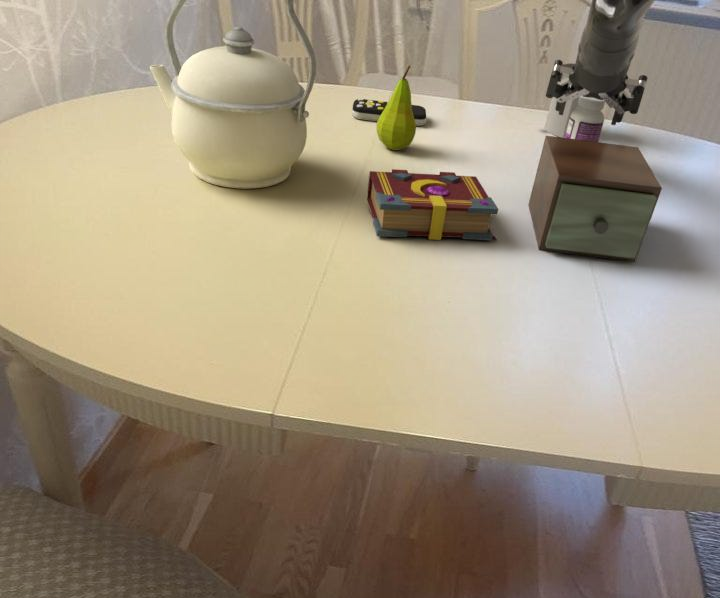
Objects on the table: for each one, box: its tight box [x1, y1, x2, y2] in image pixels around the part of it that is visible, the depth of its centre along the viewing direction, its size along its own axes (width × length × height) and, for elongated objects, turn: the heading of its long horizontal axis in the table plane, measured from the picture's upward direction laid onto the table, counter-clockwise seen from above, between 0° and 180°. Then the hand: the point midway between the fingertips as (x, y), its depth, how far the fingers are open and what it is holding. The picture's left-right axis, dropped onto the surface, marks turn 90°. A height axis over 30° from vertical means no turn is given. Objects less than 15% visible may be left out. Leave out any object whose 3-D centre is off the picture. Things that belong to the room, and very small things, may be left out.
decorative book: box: [366, 169, 499, 241], centre depth 99 cm, size 11×16×5 cm
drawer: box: [545, 182, 657, 259], centre depth 98 cm, size 15×11×8 cm
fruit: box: [376, 65, 417, 151], centre depth 116 cm, size 6×6×12 cm
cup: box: [544, 62, 580, 138], centre depth 132 cm, size 8×8×10 cm
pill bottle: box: [565, 95, 606, 142], centre depth 121 cm, size 5×5×10 cm
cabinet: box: [528, 135, 663, 263], centre depth 99 cm, size 15×13×10 cm
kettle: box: [149, 0, 318, 190], centre depth 99 cm, size 25×18×25 cm
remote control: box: [351, 97, 427, 127], centre depth 131 cm, size 6×13×2 cm, turn 88°
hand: (587, 114), depth 121 cm, fingers open, 8 cm apart
